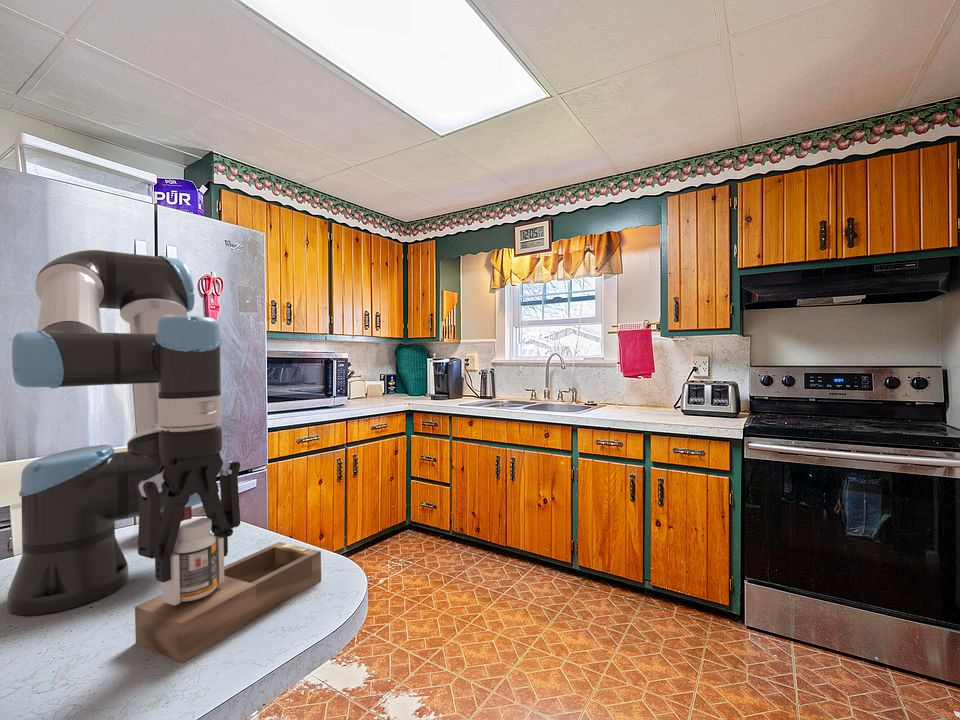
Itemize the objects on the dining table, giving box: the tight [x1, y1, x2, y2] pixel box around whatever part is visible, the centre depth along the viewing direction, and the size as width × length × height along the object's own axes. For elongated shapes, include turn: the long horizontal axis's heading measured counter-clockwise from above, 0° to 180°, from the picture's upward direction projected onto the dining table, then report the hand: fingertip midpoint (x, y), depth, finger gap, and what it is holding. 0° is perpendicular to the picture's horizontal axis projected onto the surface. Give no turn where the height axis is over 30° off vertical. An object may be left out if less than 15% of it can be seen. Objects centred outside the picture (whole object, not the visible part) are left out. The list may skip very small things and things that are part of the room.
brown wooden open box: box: [134, 541, 322, 663], centre depth 73 cm, size 10×24×5 cm, turn 155°
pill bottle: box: [173, 517, 217, 602], centre depth 66 cm, size 6×6×10 cm
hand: (194, 590), depth 66 cm, fingers closed on pill bottle, 6 cm apart
